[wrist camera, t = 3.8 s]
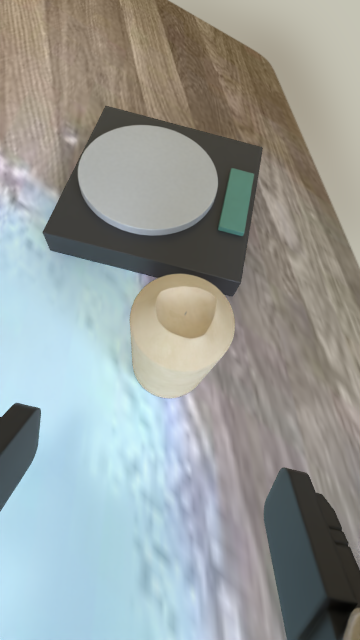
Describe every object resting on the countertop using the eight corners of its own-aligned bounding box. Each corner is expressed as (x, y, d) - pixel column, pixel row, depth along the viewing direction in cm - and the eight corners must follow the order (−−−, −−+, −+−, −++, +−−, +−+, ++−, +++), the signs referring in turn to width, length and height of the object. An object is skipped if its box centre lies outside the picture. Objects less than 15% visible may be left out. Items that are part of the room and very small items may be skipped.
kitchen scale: (254, 167, 34) (265, 139, 31) (232, 296, 27) (244, 277, 24) (107, 128, 33) (104, 96, 31) (49, 250, 27) (39, 225, 24)
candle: (190, 321, 26) (219, 248, 17) (214, 386, 24) (261, 344, 15) (124, 339, 25) (116, 271, 16) (144, 409, 23) (148, 378, 14)
